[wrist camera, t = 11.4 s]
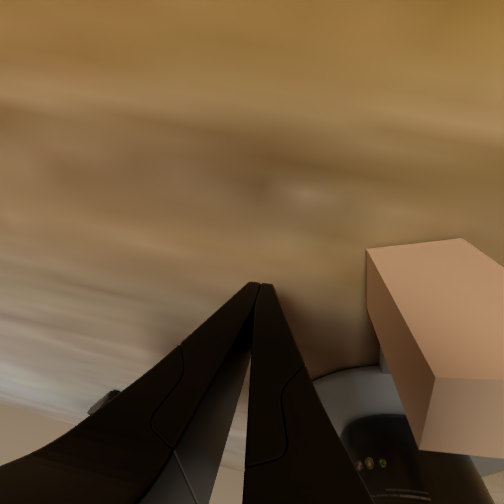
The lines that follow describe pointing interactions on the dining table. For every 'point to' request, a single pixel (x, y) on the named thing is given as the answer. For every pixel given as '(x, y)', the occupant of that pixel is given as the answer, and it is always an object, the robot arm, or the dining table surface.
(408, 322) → the frying pan
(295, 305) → the dining table surface
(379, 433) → the supplement bottle
